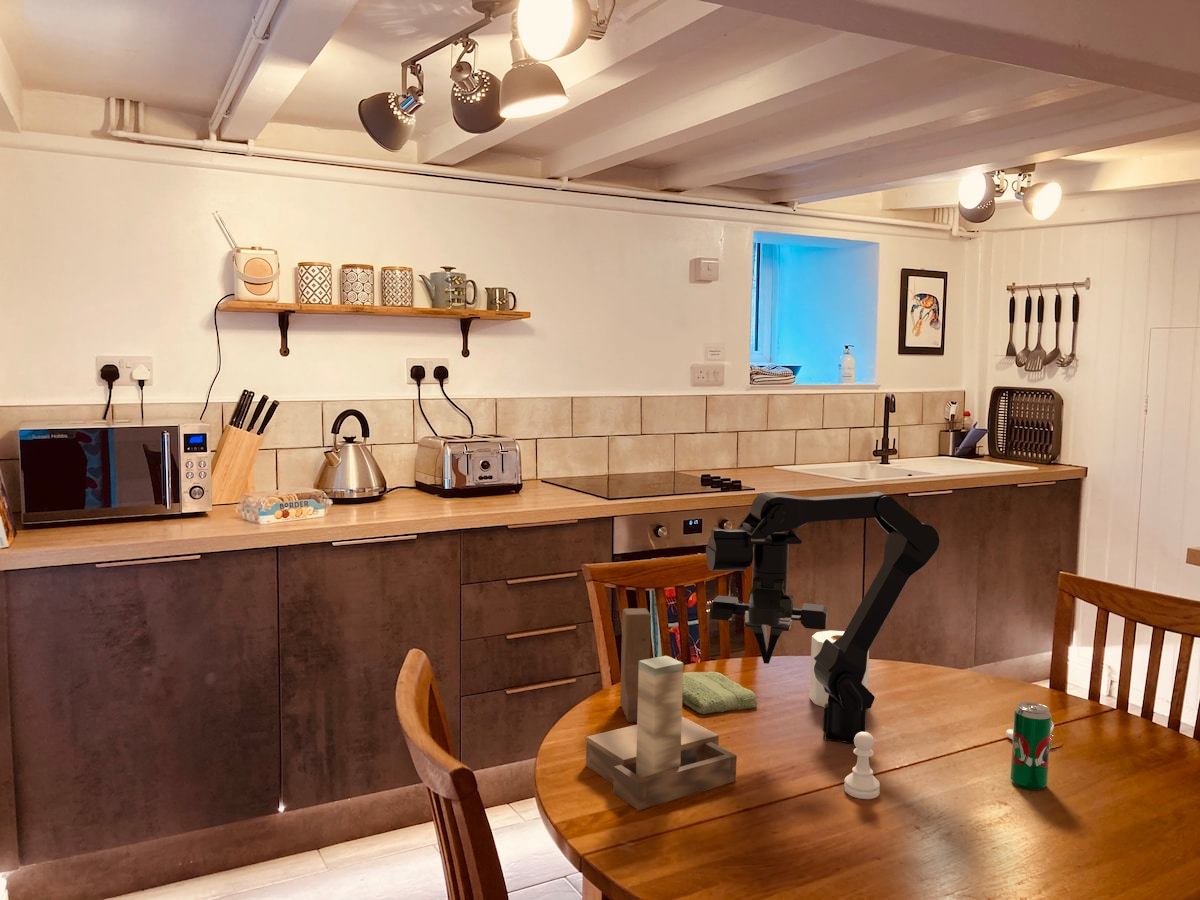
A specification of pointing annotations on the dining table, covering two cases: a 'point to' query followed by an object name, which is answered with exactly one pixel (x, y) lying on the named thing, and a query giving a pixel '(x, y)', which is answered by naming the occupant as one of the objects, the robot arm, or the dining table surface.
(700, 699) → the washcloth
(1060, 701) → the dining table surface
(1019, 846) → the dining table surface
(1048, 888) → the dining table surface
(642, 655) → the wooden block
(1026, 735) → the soda can
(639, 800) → the box with sliding lid
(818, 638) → the toilet paper
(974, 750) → the dining table surface
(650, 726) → the tall beige rectangular block
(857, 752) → the chess pawn
